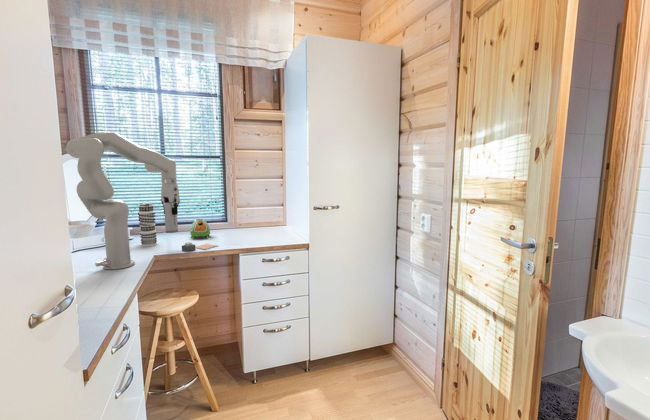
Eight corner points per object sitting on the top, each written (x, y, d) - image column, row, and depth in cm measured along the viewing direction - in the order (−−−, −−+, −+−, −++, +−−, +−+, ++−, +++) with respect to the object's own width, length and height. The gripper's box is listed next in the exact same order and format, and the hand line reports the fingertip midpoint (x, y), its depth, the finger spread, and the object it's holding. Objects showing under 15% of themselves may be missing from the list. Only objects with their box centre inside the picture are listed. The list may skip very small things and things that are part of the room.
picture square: (204, 249, 187) (204, 249, 187) (192, 247, 192) (192, 247, 192) (218, 246, 196) (218, 245, 196) (206, 244, 201) (206, 243, 201)
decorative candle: (150, 246, 196) (147, 204, 192) (136, 246, 197) (133, 204, 194) (161, 243, 204) (158, 202, 201) (147, 242, 206) (144, 202, 203)
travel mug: (165, 231, 189) (163, 196, 187) (178, 230, 192) (176, 195, 189) (164, 233, 183) (162, 196, 181) (177, 232, 186) (175, 196, 184)
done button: (188, 247, 184) (187, 244, 183) (183, 246, 186) (183, 243, 185) (193, 246, 187) (193, 242, 187) (189, 245, 189) (188, 242, 188)
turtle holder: (208, 233, 233) (207, 216, 231) (211, 238, 216) (210, 220, 215) (189, 235, 227) (187, 217, 226) (191, 240, 211) (190, 221, 209)
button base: (188, 252, 183) (187, 246, 183) (182, 250, 186) (181, 245, 185) (195, 250, 187) (195, 244, 187) (189, 248, 190) (189, 243, 189)
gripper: (185, 181, 183) (186, 214, 185) (165, 181, 192) (166, 212, 194) (173, 182, 177) (174, 215, 179) (153, 181, 185) (154, 213, 187)
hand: (170, 213), depth 186 cm, fingers closed on travel mug, 6 cm apart
